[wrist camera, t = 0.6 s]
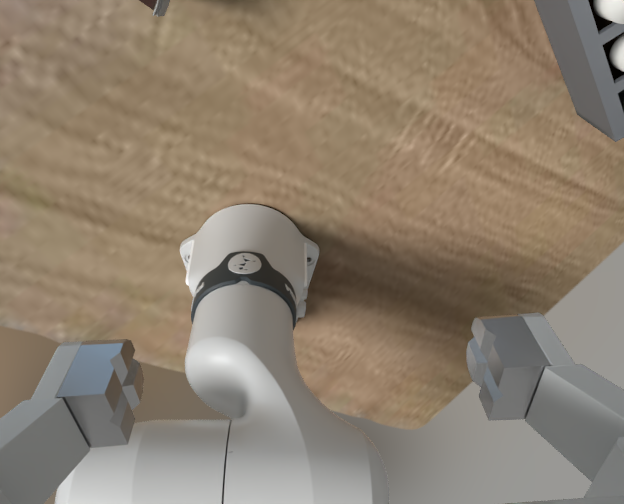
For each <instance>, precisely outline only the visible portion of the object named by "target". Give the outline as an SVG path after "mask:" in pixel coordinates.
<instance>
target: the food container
mask: <svg viewBox="0 0 624 504" xmlns="http://www.w3.org/2000/svg"><path fill="white" fill-rule="evenodd" d="M140 1H141V2H143V3H144V4H145V5H147V6H148V7H150V8H151V9H152V10H154V9H155V10H154V13H153V16H154V15H157V16H164V15H165V13H166V10H167V8H168V5H169V1H170V0H140Z"/></svg>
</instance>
